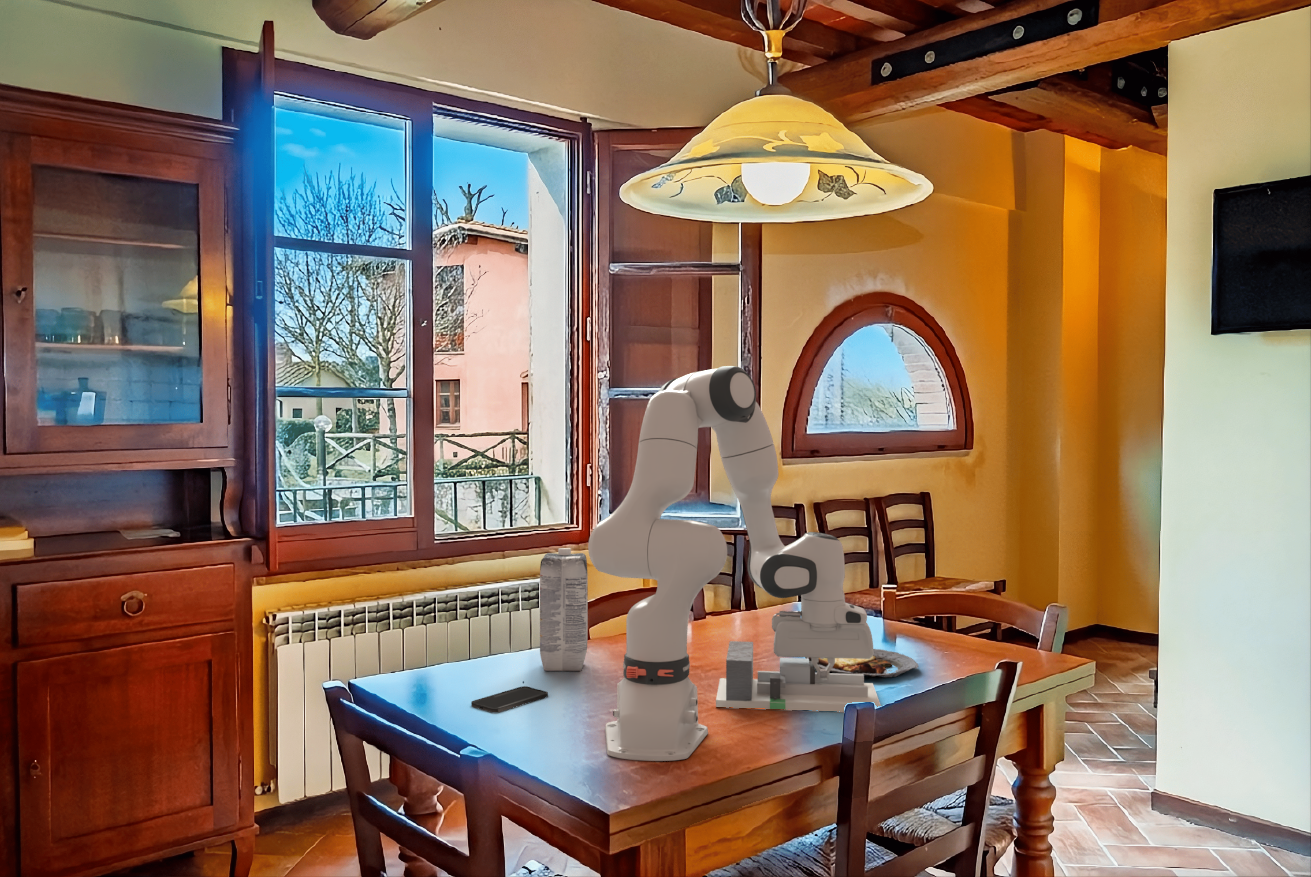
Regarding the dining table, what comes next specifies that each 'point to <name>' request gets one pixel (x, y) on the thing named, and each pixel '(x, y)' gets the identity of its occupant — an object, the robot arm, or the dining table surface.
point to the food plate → (871, 664)
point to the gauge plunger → (796, 671)
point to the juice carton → (563, 610)
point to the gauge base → (805, 693)
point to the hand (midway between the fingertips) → (823, 678)
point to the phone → (509, 699)
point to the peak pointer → (775, 686)
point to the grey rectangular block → (739, 671)
